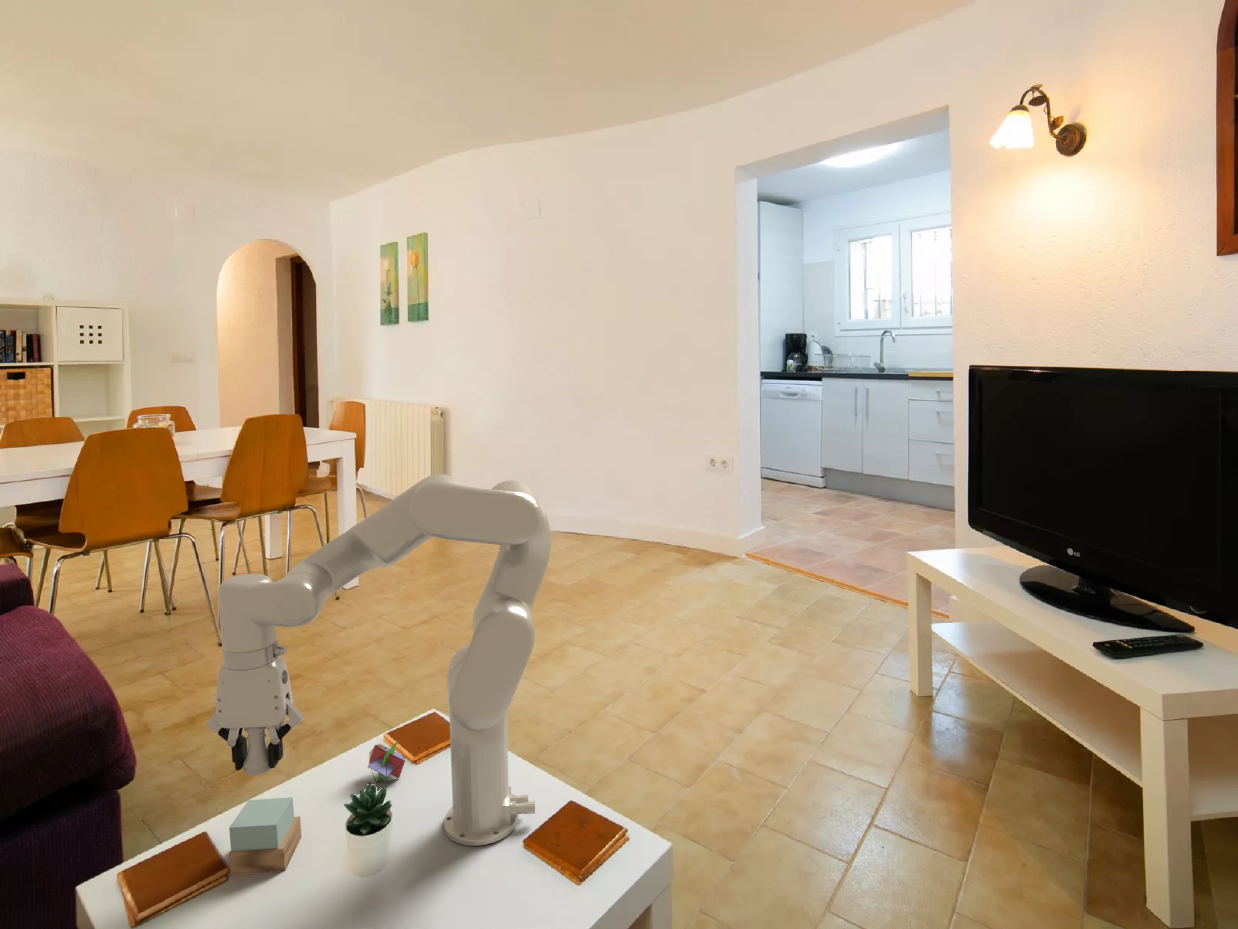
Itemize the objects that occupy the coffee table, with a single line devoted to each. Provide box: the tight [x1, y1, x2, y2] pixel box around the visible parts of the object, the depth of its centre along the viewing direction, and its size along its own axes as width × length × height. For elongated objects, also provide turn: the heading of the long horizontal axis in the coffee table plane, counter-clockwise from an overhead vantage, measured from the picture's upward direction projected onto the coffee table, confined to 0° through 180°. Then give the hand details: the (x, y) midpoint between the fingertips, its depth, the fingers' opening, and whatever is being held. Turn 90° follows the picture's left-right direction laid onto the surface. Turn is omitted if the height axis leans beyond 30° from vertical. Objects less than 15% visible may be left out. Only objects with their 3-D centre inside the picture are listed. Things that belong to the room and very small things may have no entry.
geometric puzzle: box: [367, 741, 406, 783], centre depth 134 cm, size 7×7×8 cm
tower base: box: [228, 816, 302, 876], centre depth 112 cm, size 8×8×4 cm
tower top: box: [228, 797, 295, 851], centre depth 112 cm, size 7×7×4 cm
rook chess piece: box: [242, 727, 272, 777], centre depth 110 cm, size 4×4×8 cm
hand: (258, 763), depth 111 cm, fingers closed on rook chess piece, 4 cm apart
